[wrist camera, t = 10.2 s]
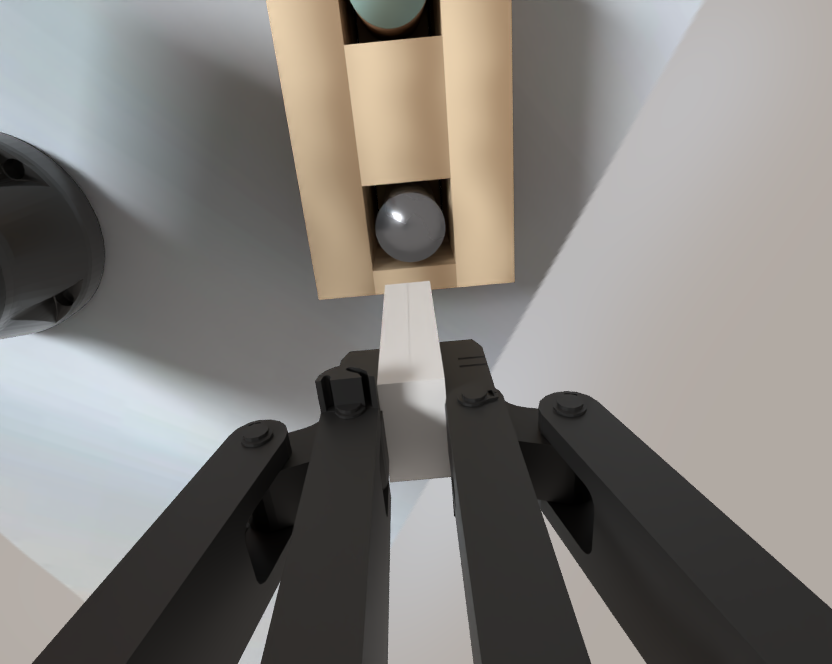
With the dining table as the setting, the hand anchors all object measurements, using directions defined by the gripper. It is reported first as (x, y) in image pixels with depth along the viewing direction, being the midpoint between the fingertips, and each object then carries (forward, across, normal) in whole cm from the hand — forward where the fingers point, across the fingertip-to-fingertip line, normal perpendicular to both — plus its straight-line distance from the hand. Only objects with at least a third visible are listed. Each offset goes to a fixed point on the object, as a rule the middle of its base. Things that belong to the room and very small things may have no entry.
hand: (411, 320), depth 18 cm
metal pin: (+23, 0, 0) cm, 23 cm away
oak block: (+24, 0, +6) cm, 25 cm away
